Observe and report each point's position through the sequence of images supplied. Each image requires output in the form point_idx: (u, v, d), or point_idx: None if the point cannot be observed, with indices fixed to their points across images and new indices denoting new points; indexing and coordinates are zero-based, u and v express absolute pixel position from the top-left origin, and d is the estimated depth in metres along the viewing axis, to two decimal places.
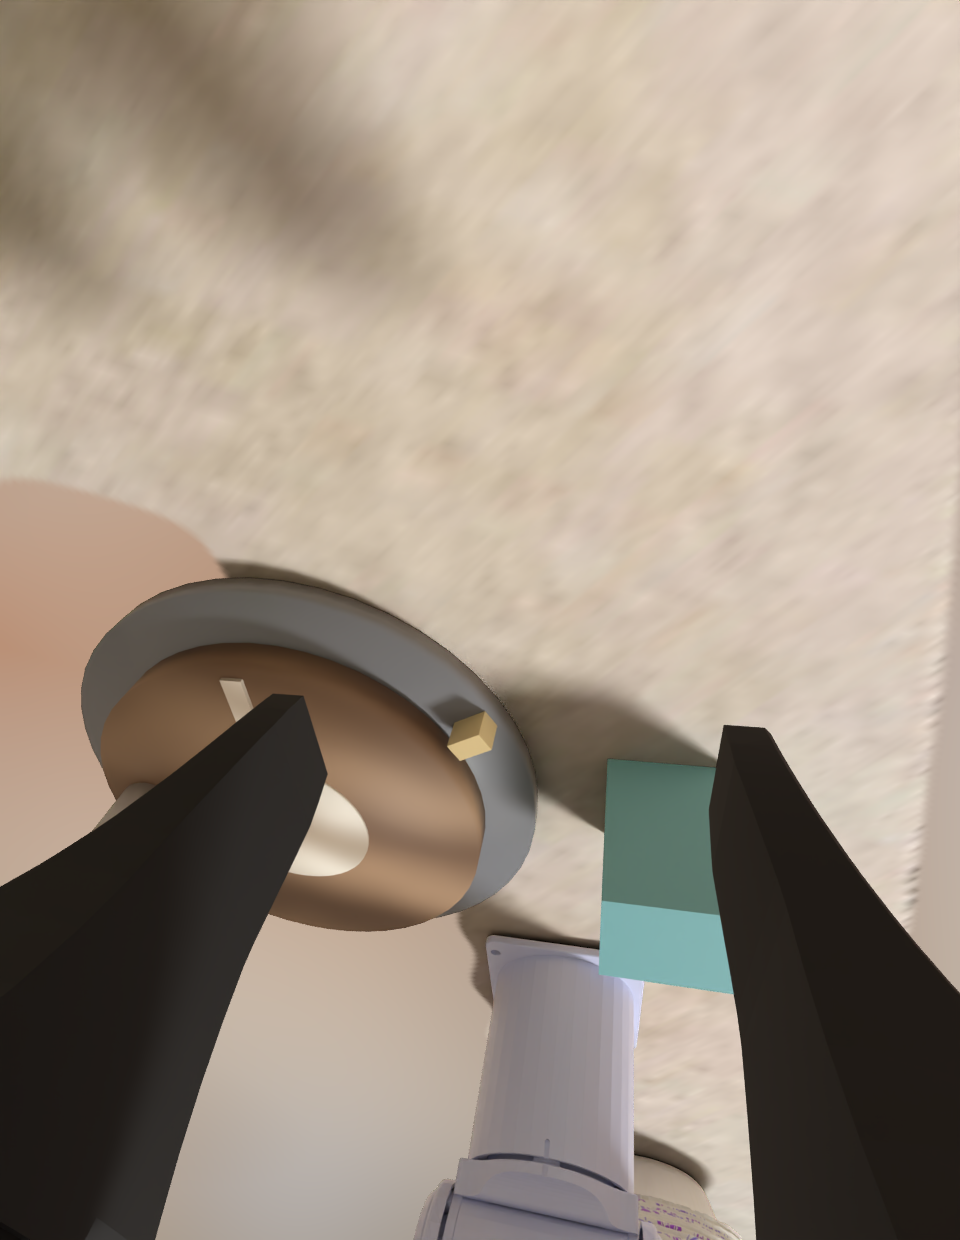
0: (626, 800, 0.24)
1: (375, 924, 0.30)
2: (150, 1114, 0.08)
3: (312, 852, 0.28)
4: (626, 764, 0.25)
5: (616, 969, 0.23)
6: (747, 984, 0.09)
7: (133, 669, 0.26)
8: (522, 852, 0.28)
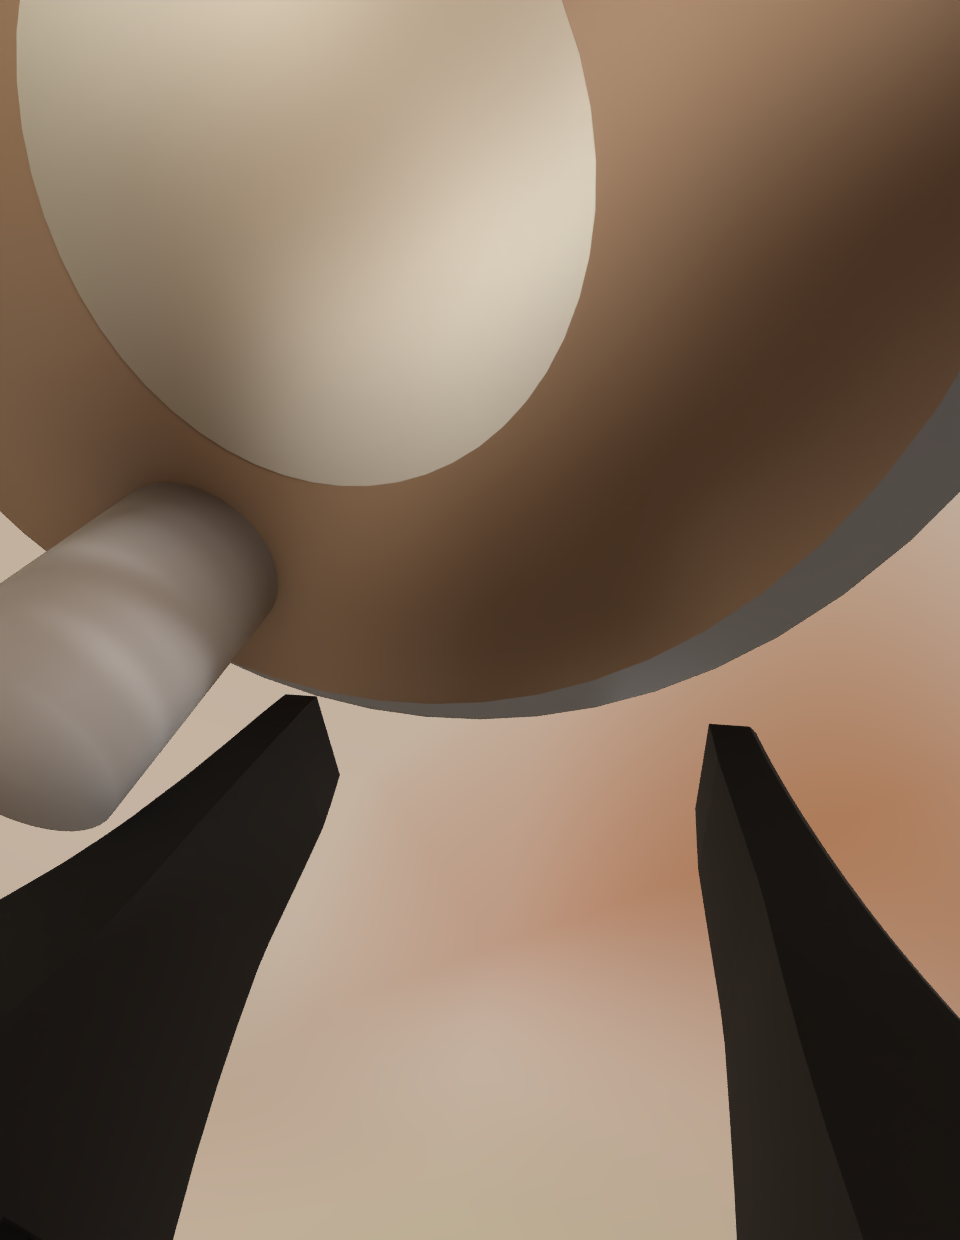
0: None
1: (928, 340, 0.08)
2: (167, 1118, 0.08)
3: (454, 233, 0.08)
4: None
5: None
6: (730, 981, 0.09)
7: None
8: None
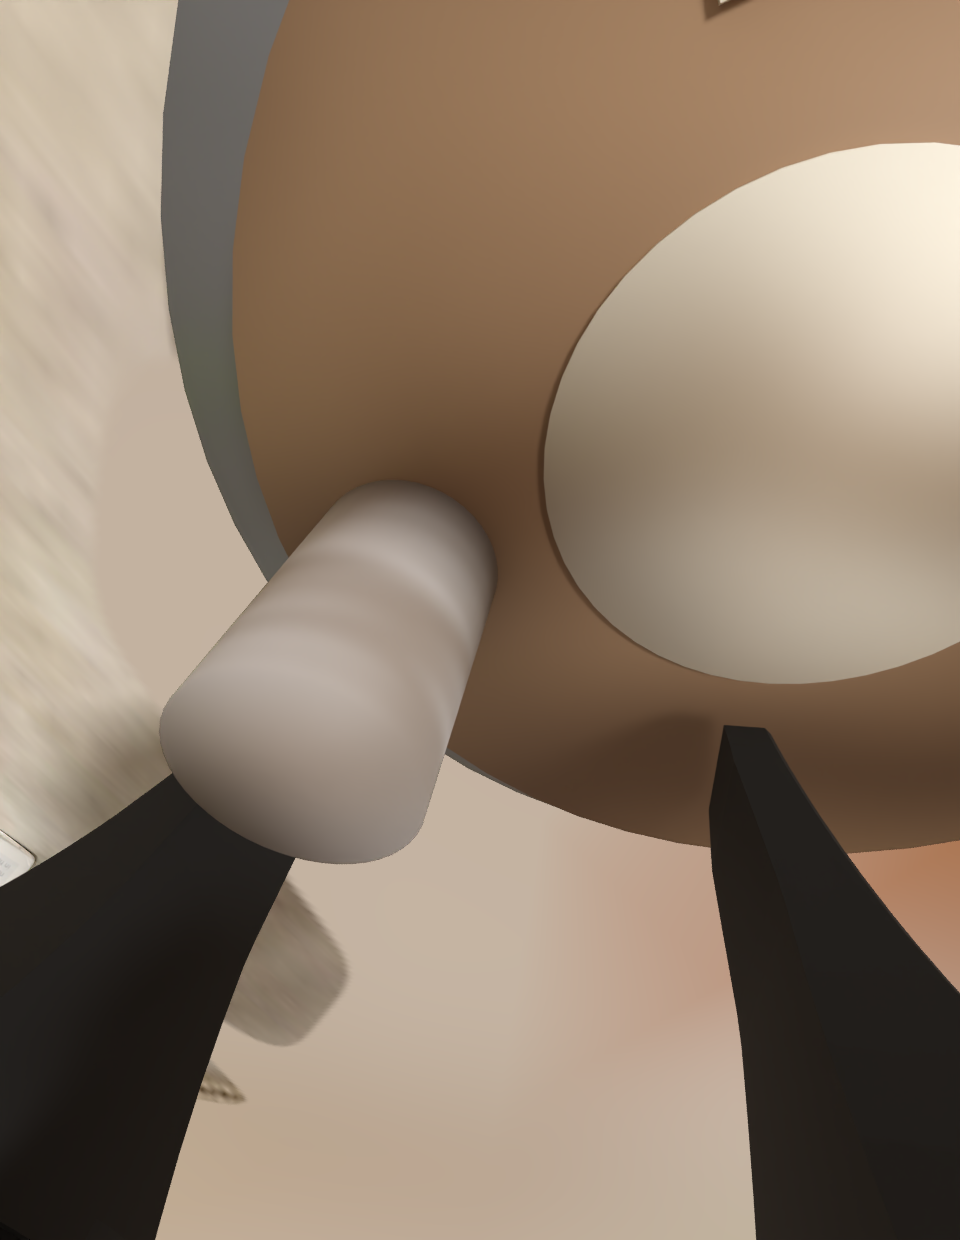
0: None
1: None
2: (150, 1114, 0.08)
3: (885, 577, 0.09)
4: None
5: None
6: (747, 984, 0.09)
7: None
8: None
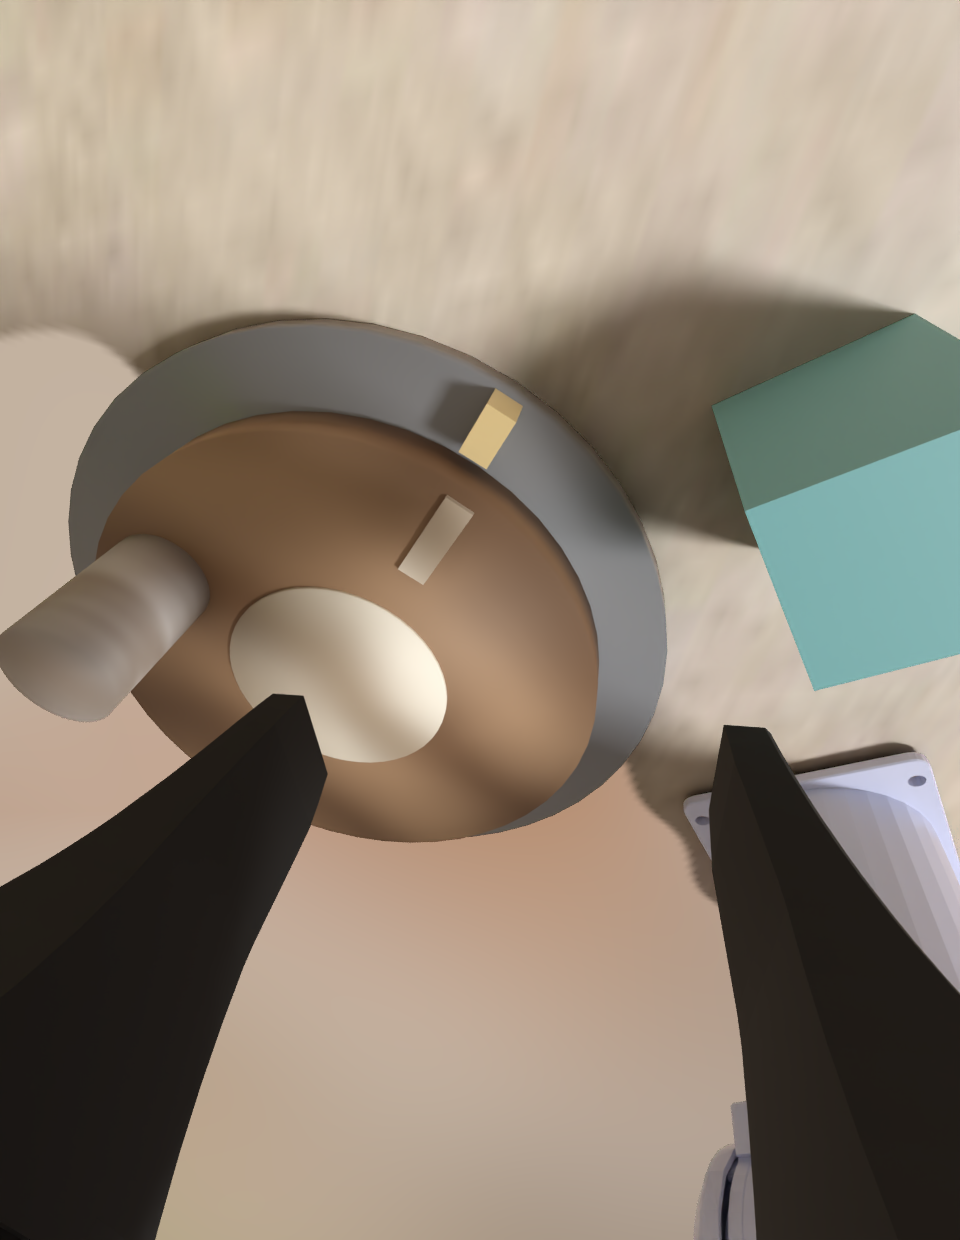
0: (752, 418, 0.15)
1: (323, 820, 0.25)
2: (150, 1114, 0.08)
3: (335, 726, 0.22)
4: (741, 395, 0.16)
5: (838, 665, 0.13)
6: (747, 984, 0.09)
7: None
8: (657, 622, 0.19)
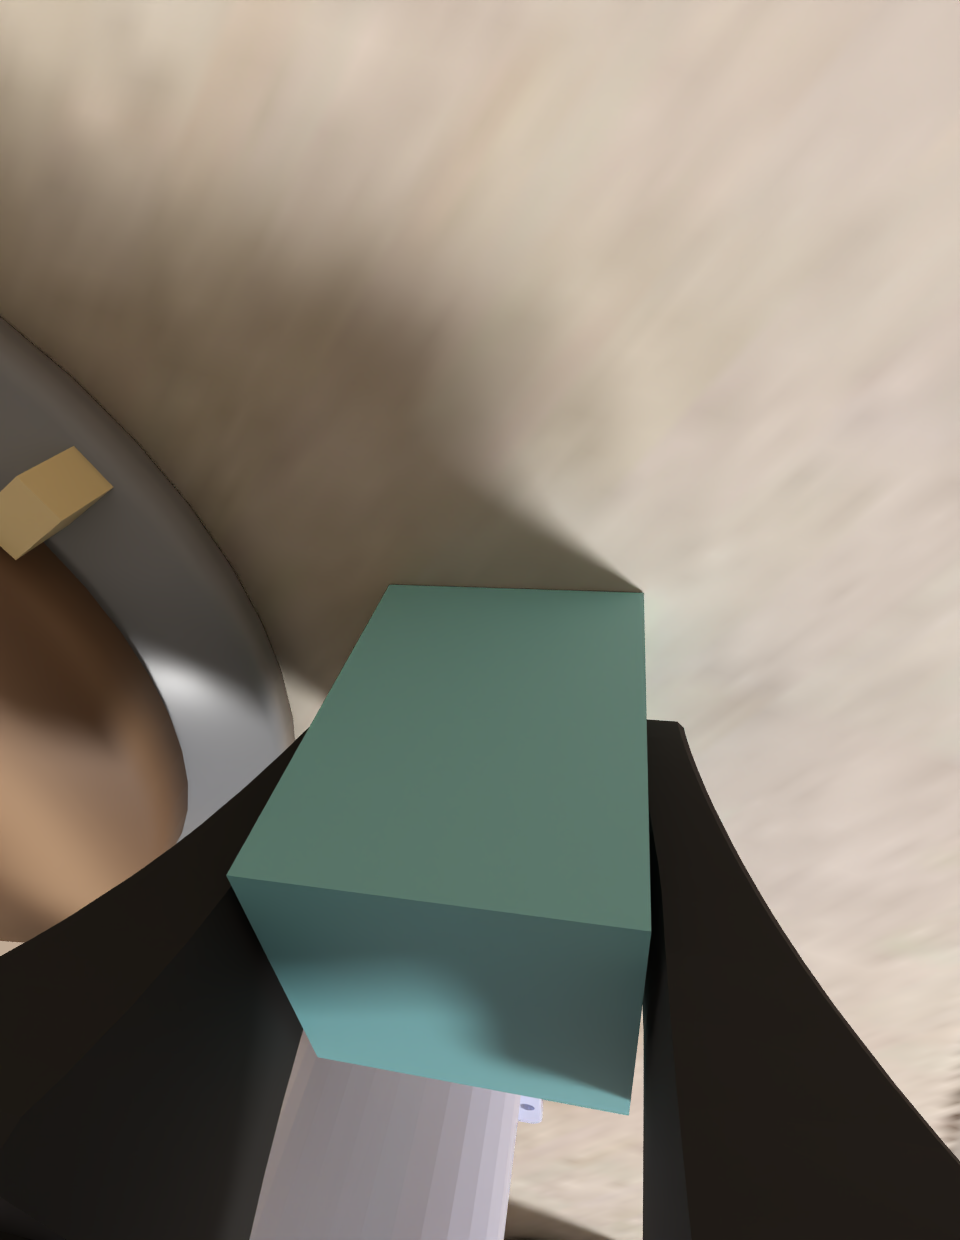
0: (395, 654, 0.10)
1: None
2: (241, 1134, 0.08)
3: None
4: (423, 592, 0.12)
5: (348, 1049, 0.09)
6: None
7: None
8: None
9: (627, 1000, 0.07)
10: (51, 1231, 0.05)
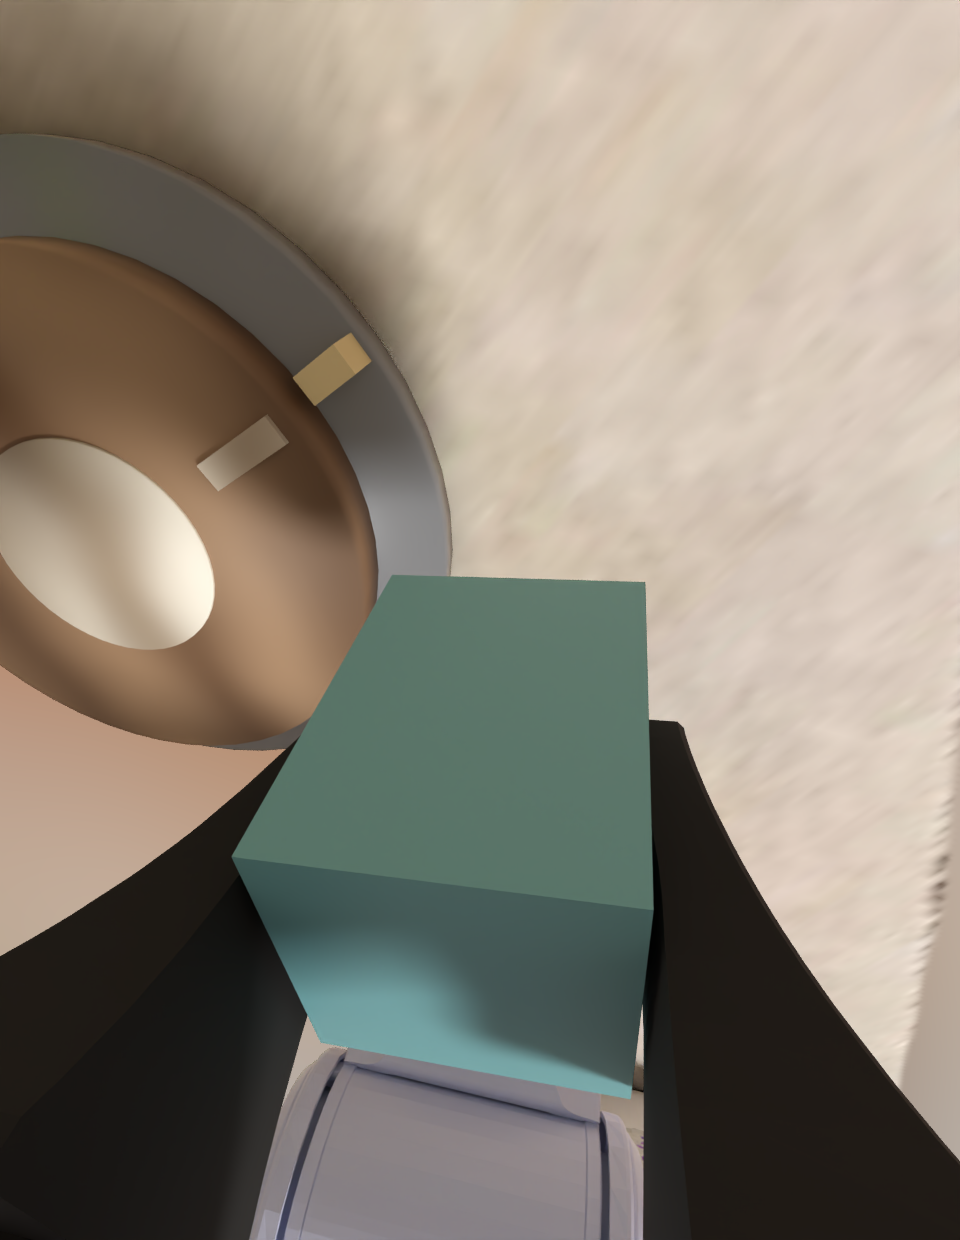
0: (398, 641, 0.10)
1: (46, 686, 0.24)
2: (241, 1134, 0.08)
3: (86, 596, 0.20)
4: (426, 582, 0.12)
5: (351, 1034, 0.09)
6: (646, 970, 0.09)
7: None
8: None
9: (629, 980, 0.07)
10: (51, 1231, 0.05)
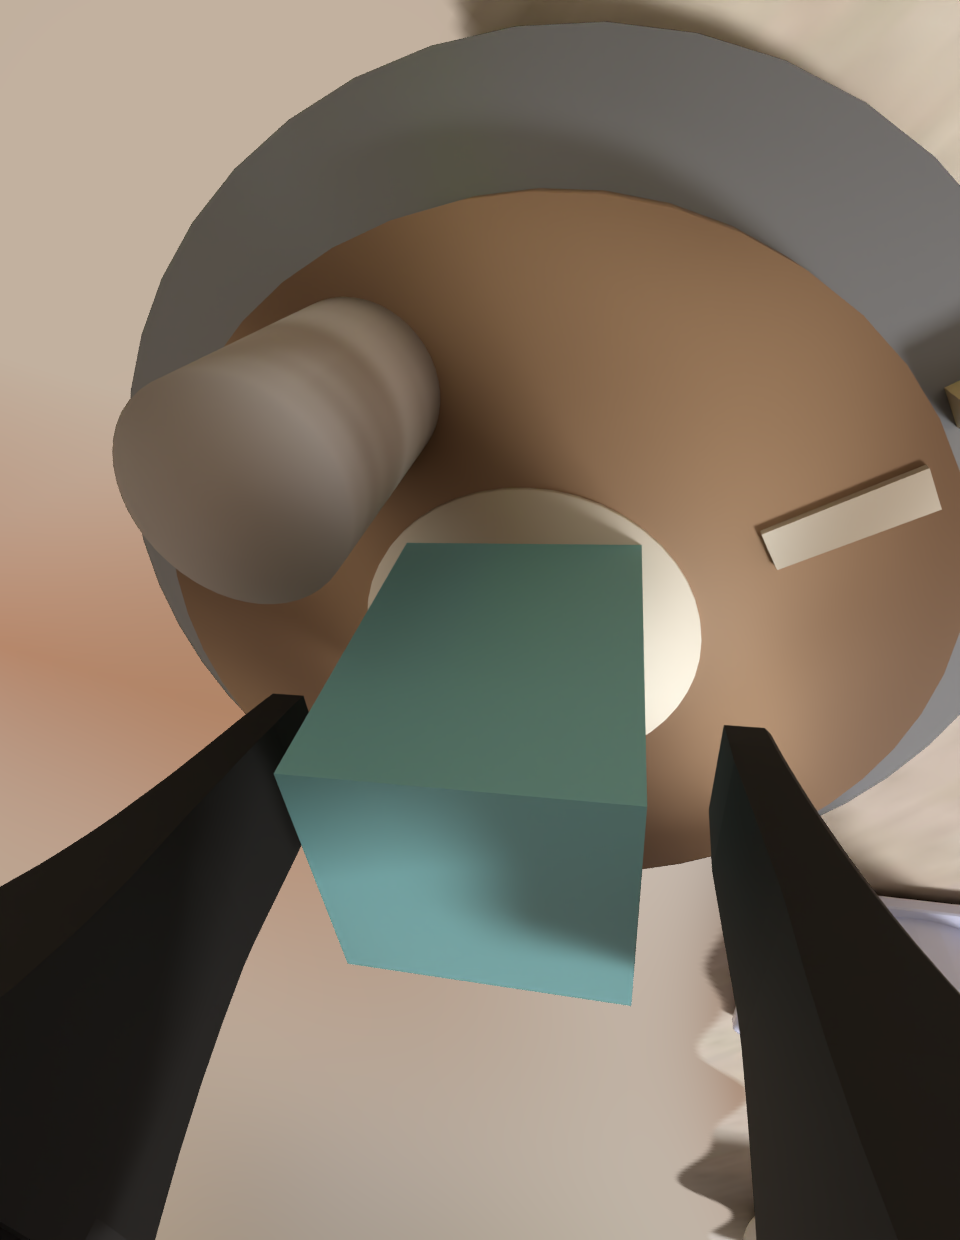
0: (414, 598, 0.11)
1: None
2: (150, 1114, 0.08)
3: None
4: (438, 548, 0.13)
5: (376, 951, 0.10)
6: (747, 984, 0.09)
7: None
8: (948, 712, 0.15)
9: (627, 880, 0.08)
10: None
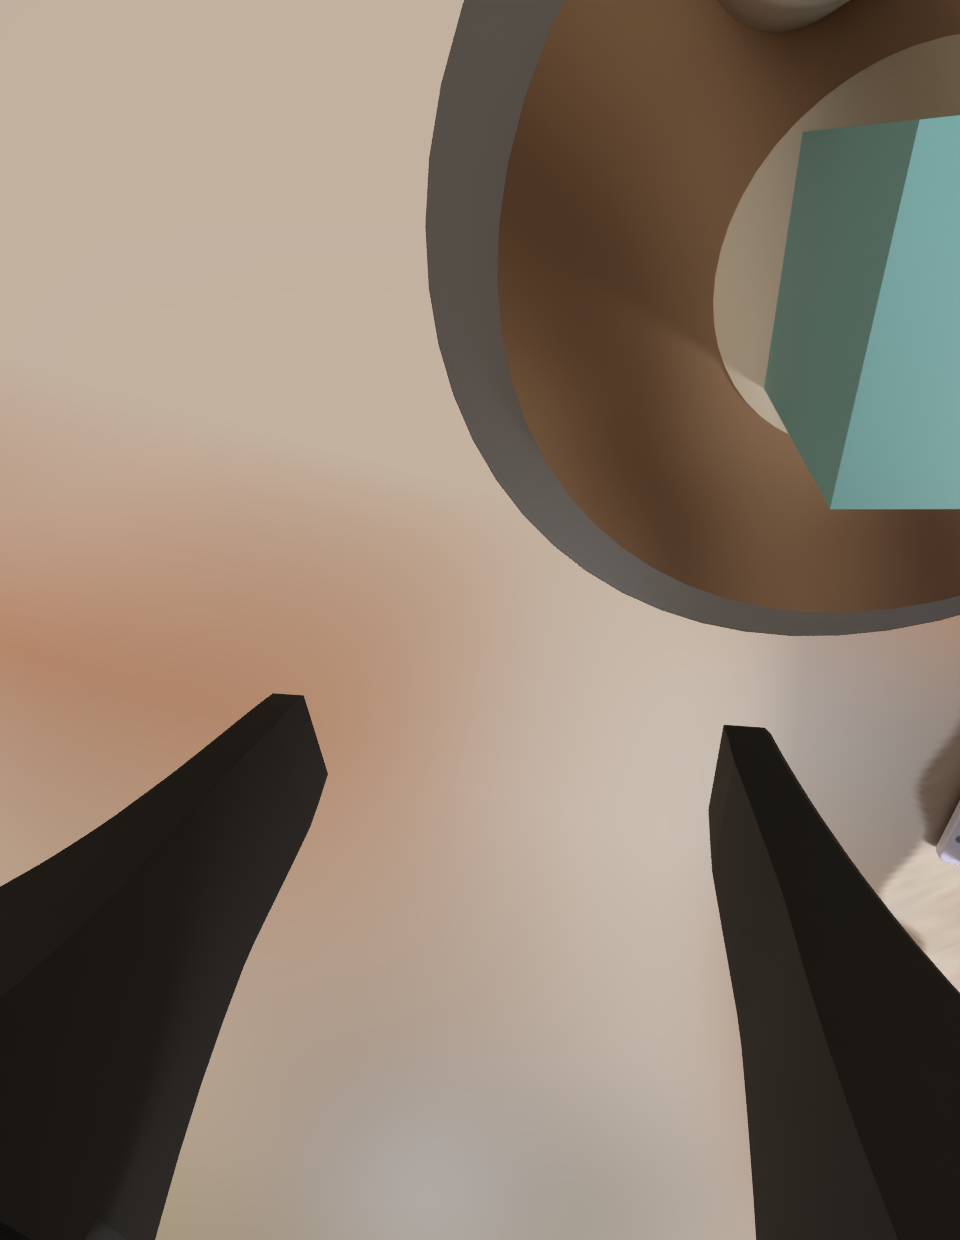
0: (880, 123, 0.10)
1: (625, 525, 0.17)
2: (150, 1114, 0.08)
3: None
4: None
5: (883, 476, 0.09)
6: (747, 984, 0.09)
7: None
8: None
9: None
10: None
